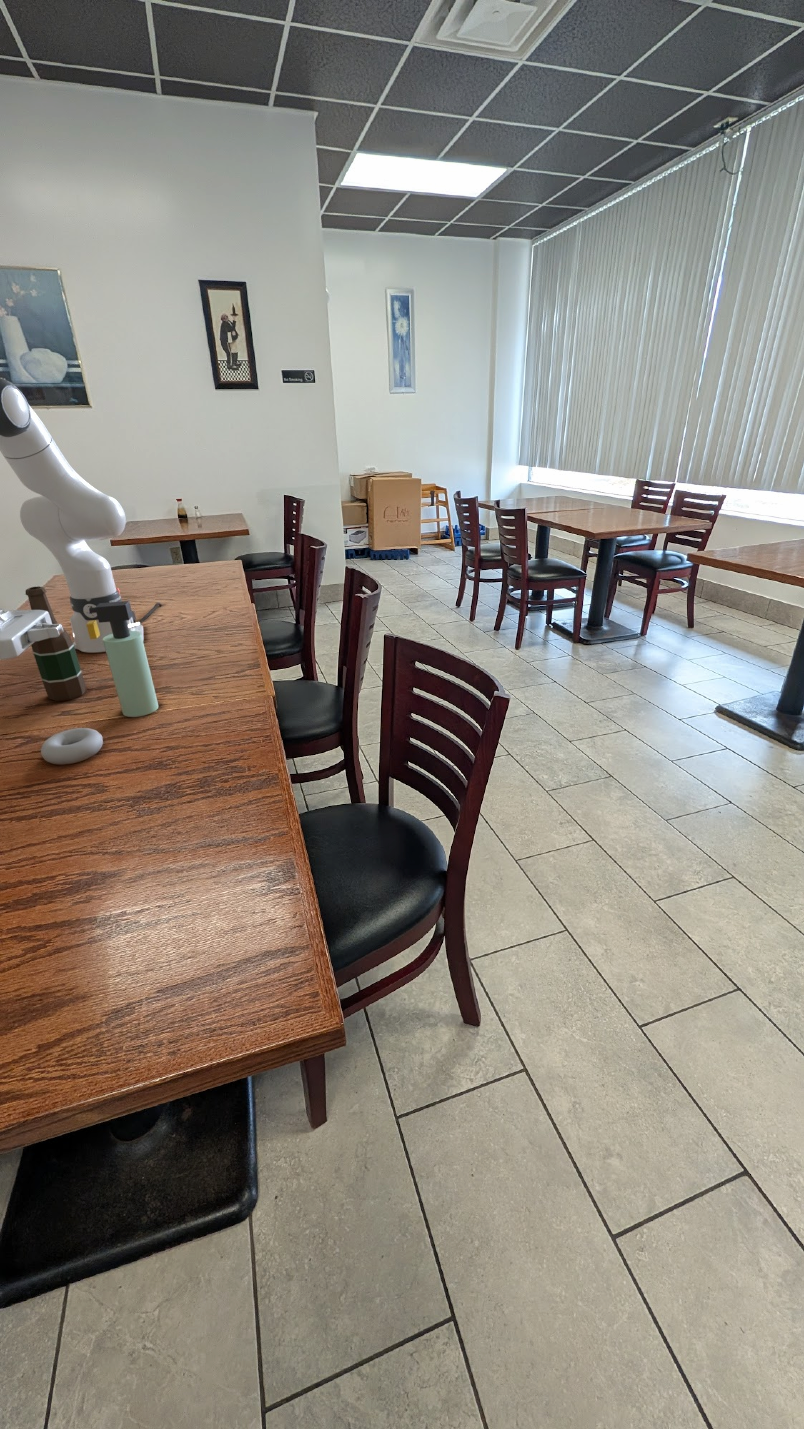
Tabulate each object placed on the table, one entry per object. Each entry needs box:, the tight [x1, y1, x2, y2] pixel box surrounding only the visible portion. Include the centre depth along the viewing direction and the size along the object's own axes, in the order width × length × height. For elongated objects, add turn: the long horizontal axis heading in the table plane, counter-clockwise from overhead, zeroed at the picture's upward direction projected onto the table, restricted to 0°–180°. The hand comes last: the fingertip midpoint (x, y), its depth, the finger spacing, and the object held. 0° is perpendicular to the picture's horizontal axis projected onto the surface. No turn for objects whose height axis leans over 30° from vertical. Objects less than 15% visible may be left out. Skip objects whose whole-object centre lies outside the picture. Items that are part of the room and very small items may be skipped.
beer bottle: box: [25, 585, 87, 702], centre depth 125 cm, size 8×8×24 cm
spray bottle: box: [89, 600, 159, 718], centre depth 117 cm, size 7×8×22 cm
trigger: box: [86, 620, 100, 639], centre depth 113 cm, size 2×1×3 cm, turn 11°
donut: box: [40, 727, 104, 766], centre depth 105 cm, size 10×4×10 cm
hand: (60, 630), depth 112 cm, fingers closed
